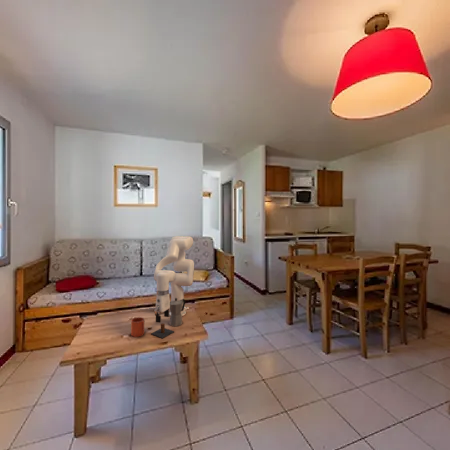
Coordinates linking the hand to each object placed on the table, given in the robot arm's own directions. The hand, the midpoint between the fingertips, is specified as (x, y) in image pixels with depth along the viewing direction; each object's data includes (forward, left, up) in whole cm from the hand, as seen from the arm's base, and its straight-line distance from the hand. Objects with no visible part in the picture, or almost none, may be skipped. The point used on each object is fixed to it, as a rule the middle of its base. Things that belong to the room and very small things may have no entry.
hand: (162, 319), depth 155 cm
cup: (+12, -10, -9) cm, 18 cm away
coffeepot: (-15, -7, -9) cm, 20 cm away
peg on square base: (0, 0, -9) cm, 9 cm away
